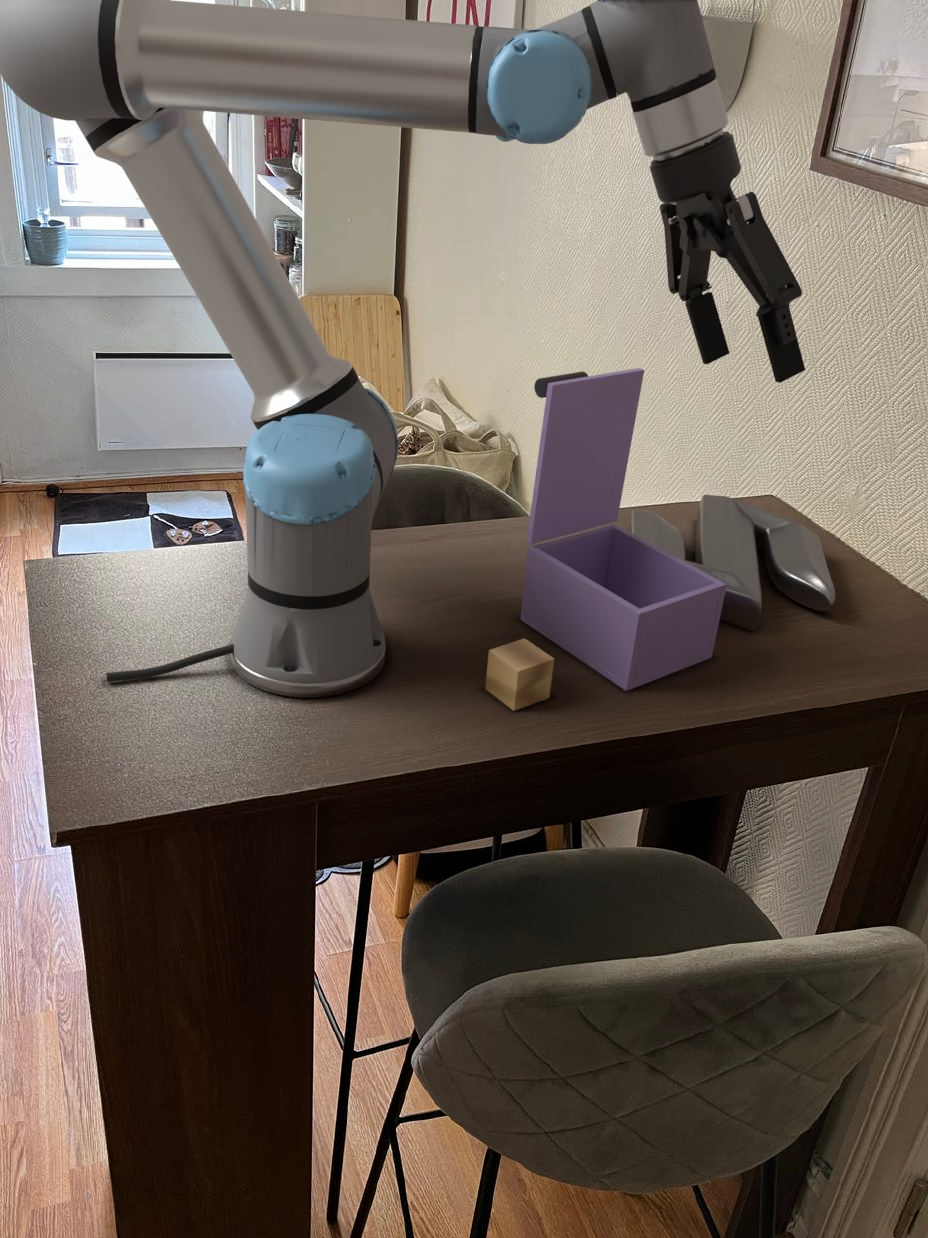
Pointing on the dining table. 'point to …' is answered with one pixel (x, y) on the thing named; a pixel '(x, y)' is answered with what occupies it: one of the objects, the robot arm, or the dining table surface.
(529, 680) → the beech block
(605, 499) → the file box lid
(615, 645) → the box
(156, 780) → the dining table surface
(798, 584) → the emblem
